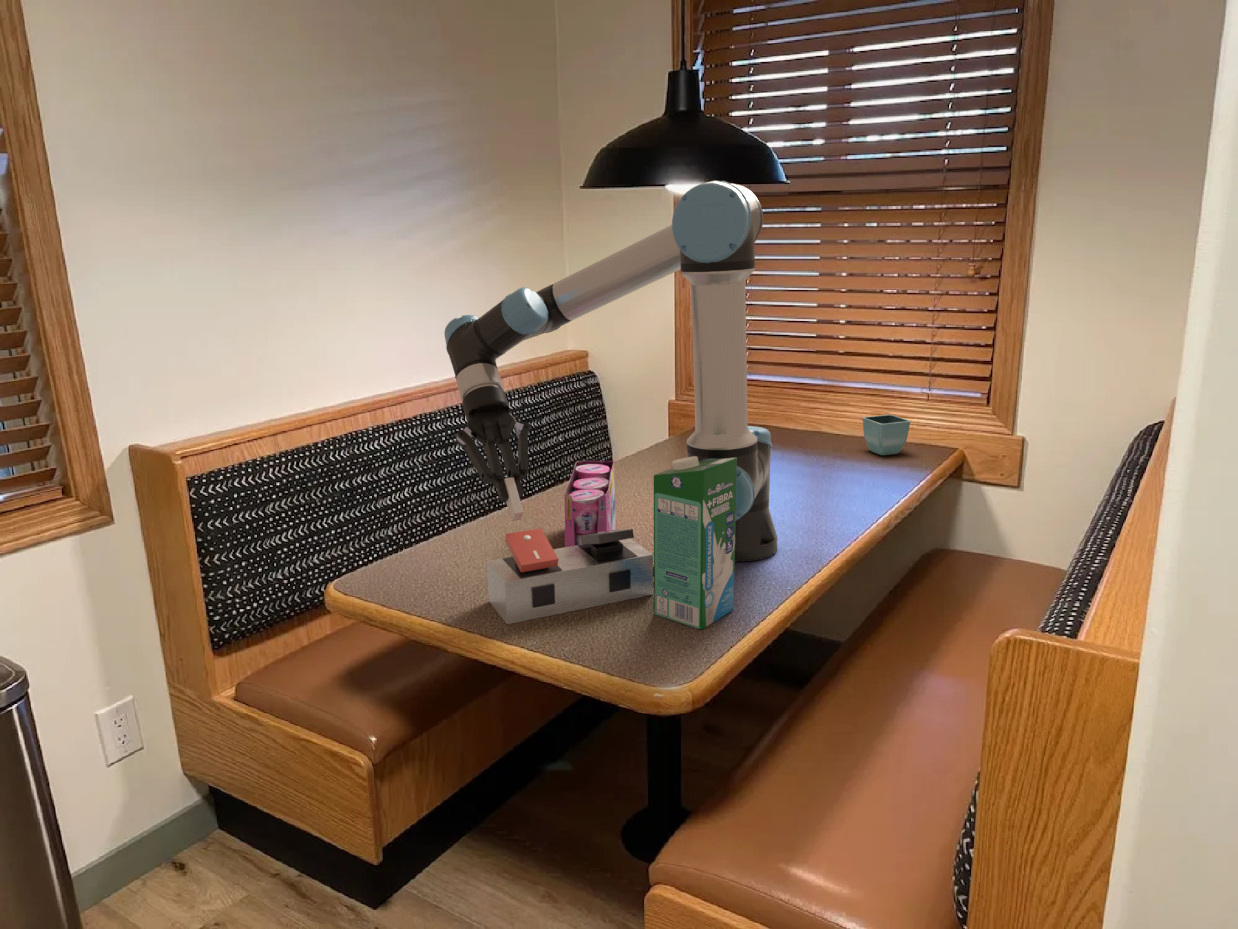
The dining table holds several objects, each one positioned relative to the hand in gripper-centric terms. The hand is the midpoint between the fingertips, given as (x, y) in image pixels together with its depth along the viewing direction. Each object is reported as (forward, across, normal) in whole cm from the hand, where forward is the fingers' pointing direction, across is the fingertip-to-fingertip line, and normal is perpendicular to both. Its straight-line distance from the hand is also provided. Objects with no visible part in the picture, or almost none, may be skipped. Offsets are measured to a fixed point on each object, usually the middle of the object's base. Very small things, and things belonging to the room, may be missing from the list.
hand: (517, 516), depth 145 cm
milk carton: (+23, -22, +4) cm, 32 cm away
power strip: (+13, -10, -6) cm, 18 cm away
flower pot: (-21, -112, -40) cm, 121 cm away
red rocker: (+6, 0, +1) cm, 6 cm away
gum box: (-1, -19, -21) cm, 29 cm away
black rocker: (+6, -13, +1) cm, 15 cm away
